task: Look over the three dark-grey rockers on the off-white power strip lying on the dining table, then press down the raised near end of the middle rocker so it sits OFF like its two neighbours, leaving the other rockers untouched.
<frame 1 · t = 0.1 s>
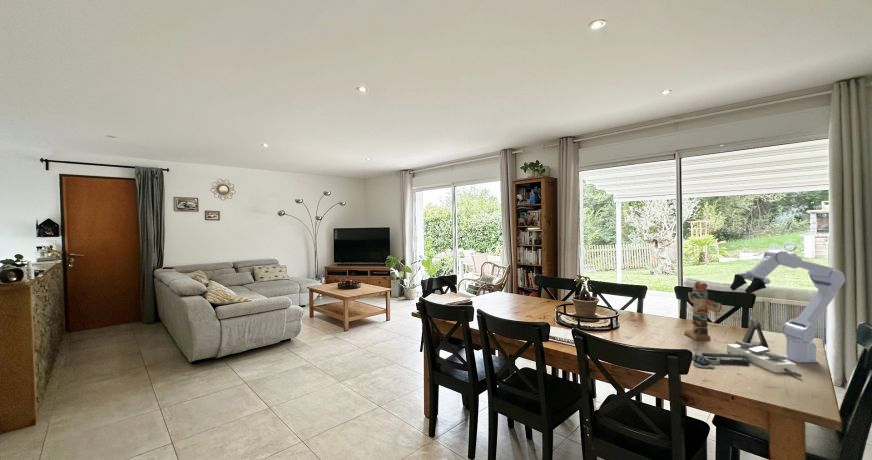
hand: (739, 290, 161), 32 cm above the table, tool tilted 50°, fingers open, 7 cm apart
totem pole: (697, 337, 194), on the table
rocker 2: (758, 350, 161), point 5 cm above the table, hinge at 11.0°
dark grey a-frame stand: (755, 344, 183), on the table
rocker 3: (773, 355, 154), point 5 cm above the table, hinge at -11.0°
rocker 1: (745, 344, 168), point 5 cm above the table, hinge at -11.0°
power strip: (758, 361, 162), on the table
firearm: (719, 364, 160), on the table
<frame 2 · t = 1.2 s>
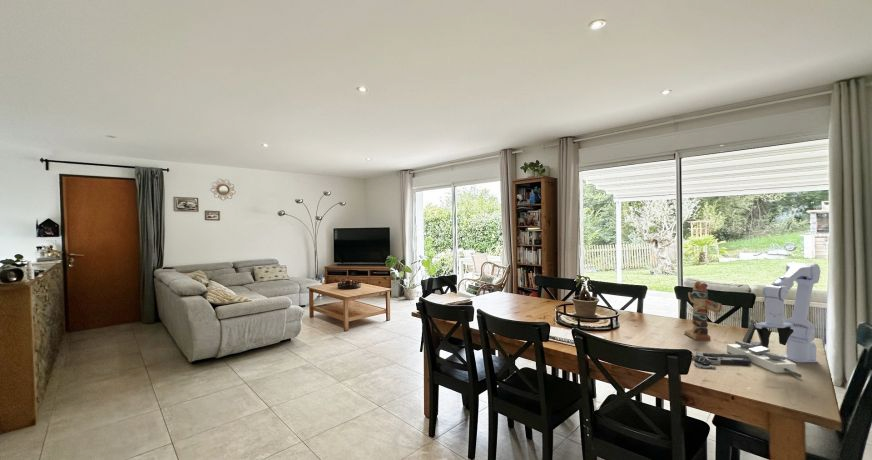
hand: (773, 344, 154), 10 cm above the table, tool pointing down, fingers open, 7 cm apart
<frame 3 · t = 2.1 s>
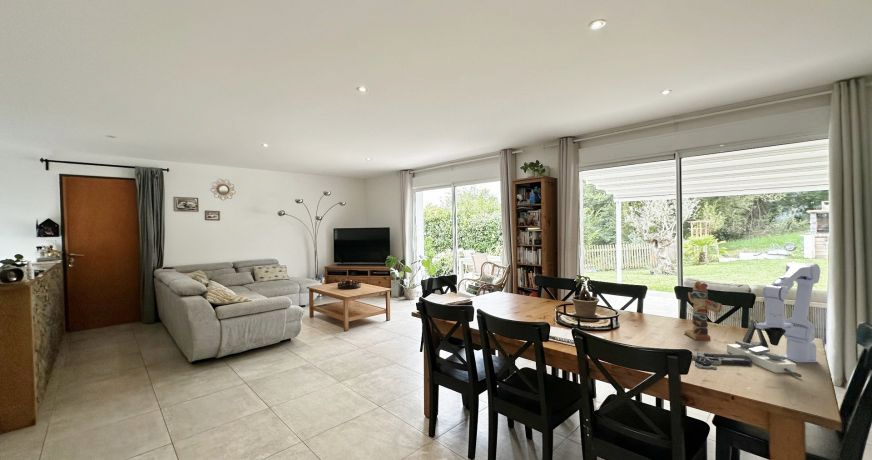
hand: (774, 344, 154), 10 cm above the table, tool pointing down, fingers closed
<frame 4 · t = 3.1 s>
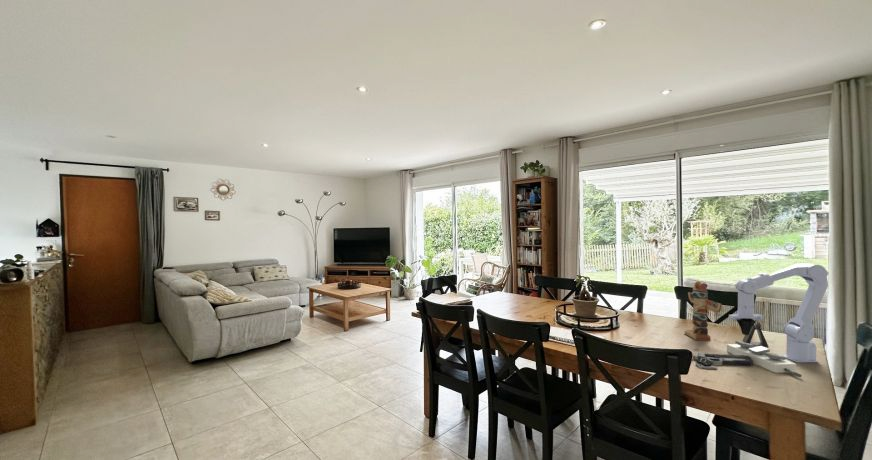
hand: (745, 334, 168), 10 cm above the table, tool pointing down, fingers closed
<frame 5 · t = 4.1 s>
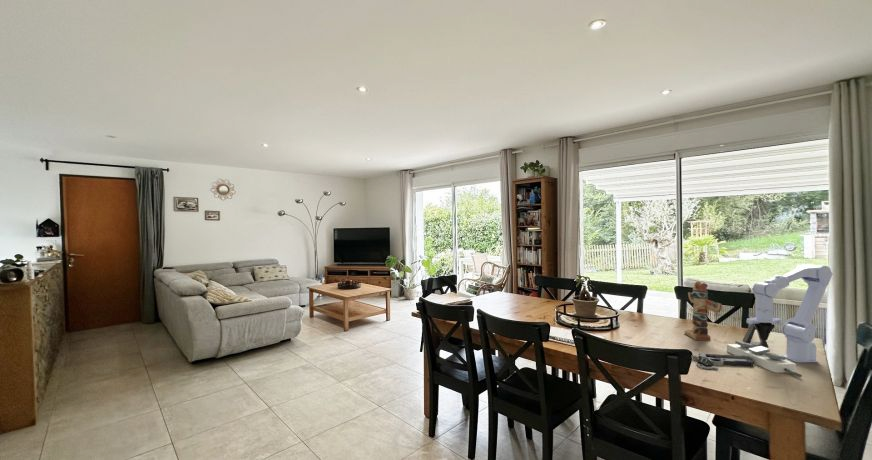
hand: (763, 339, 161), 10 cm above the table, tool pointing down, fingers closed
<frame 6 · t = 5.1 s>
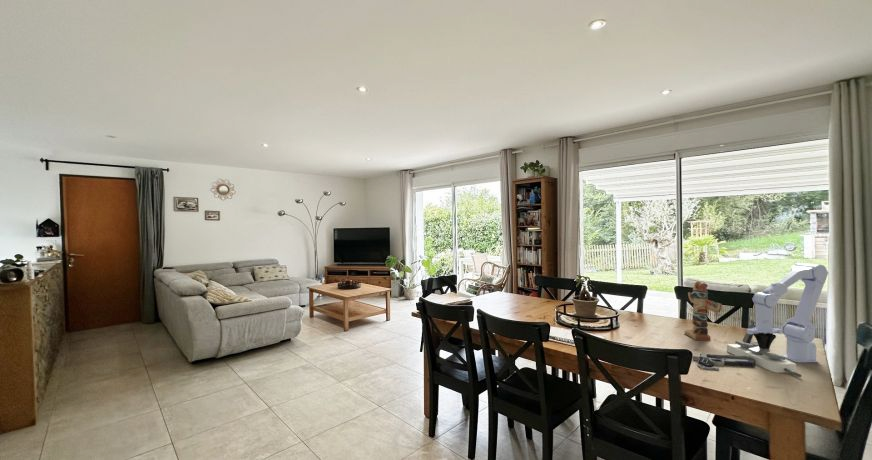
hand: (764, 349, 161), 5 cm above the table, tool pointing down, fingers closed on rocker 2
rocker 2: (758, 350, 161), point 5 cm above the table, hinge at 10.2°, touching gripper
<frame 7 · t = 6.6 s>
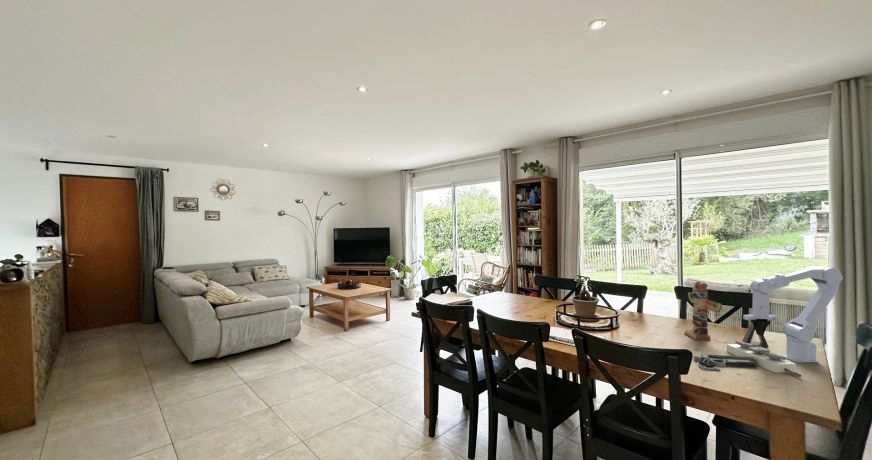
hand: (759, 335, 165), 10 cm above the table, tool pointing down, fingers closed
rocker 2: (758, 350, 161), point 5 cm above the table, hinge at -1.0°
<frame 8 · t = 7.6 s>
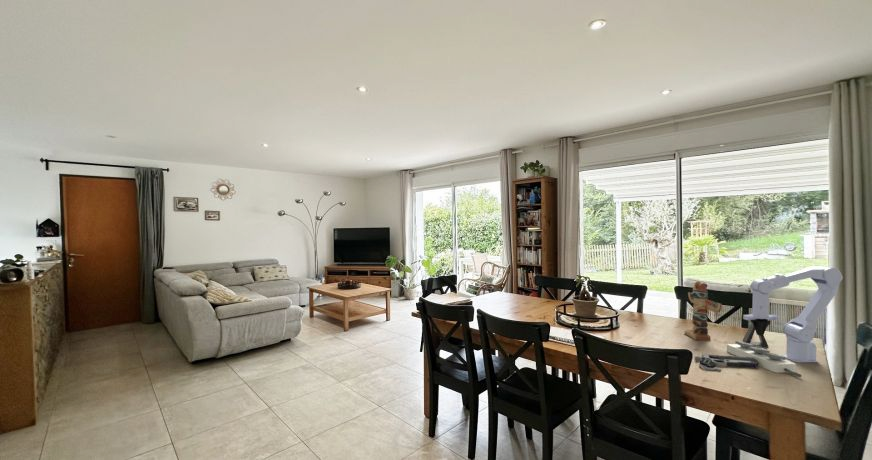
hand: (759, 335, 165), 10 cm above the table, tool pointing down, fingers closed
rocker 2: (758, 350, 161), point 5 cm above the table, hinge at -5.7°
at the end: rocker 2 at -6° (first picture: +11°); rocker 1 at -11° (first picture: -11°); rocker 3 at -11° (first picture: -11°) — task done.
